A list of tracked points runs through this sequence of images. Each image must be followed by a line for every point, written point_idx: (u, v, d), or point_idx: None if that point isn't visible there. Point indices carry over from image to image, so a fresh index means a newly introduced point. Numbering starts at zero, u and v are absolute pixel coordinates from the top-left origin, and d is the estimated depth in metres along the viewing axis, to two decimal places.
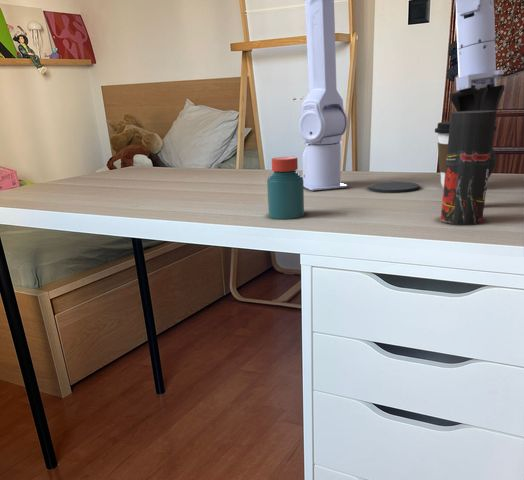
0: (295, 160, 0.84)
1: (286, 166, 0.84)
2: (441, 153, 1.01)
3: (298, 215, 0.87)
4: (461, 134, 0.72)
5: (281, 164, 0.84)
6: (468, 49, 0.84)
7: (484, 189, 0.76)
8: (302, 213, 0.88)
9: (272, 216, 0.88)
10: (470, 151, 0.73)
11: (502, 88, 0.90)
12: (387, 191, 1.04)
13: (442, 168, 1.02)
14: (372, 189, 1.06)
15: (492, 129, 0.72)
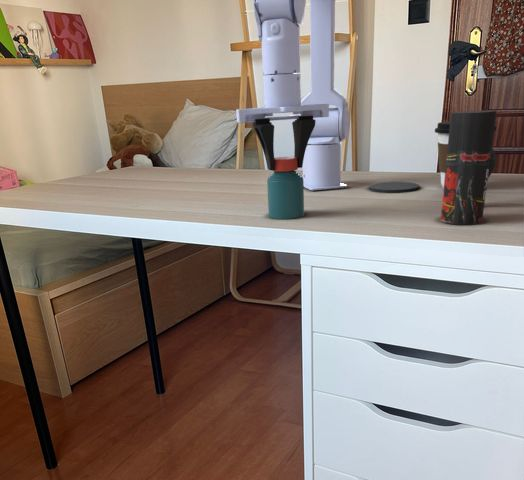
0: (295, 160, 0.84)
1: (286, 166, 0.84)
2: (441, 153, 1.01)
3: (298, 215, 0.87)
4: (461, 134, 0.72)
5: (281, 164, 0.84)
6: (263, 79, 0.80)
7: (484, 189, 0.76)
8: (302, 213, 0.88)
9: (272, 216, 0.88)
10: (470, 151, 0.73)
11: (306, 124, 0.81)
12: (387, 191, 1.04)
13: (442, 168, 1.02)
14: (372, 189, 1.06)
15: (492, 129, 0.72)
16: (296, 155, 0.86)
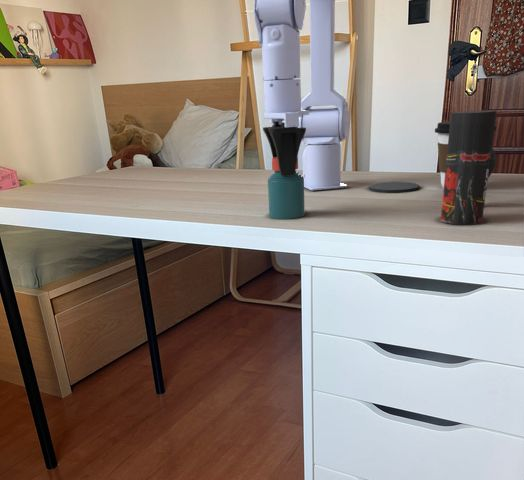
0: None
1: None
2: (441, 153, 1.01)
3: (299, 215, 0.87)
4: (461, 134, 0.72)
5: (297, 162, 0.85)
6: (283, 83, 0.78)
7: (484, 189, 0.76)
8: (303, 213, 0.88)
9: (273, 216, 0.88)
10: (470, 151, 0.73)
11: (296, 127, 0.86)
12: (387, 191, 1.04)
13: (442, 168, 1.02)
14: (372, 189, 1.06)
15: (492, 129, 0.72)
16: None
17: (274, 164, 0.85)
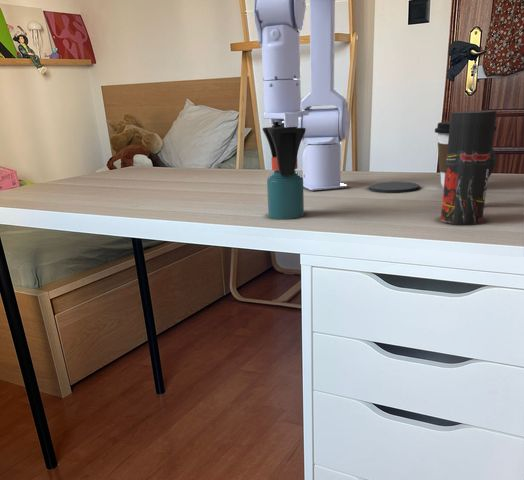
0: None
1: None
2: (441, 153, 1.01)
3: (299, 215, 0.88)
4: (461, 134, 0.72)
5: None
6: (283, 83, 0.78)
7: (484, 189, 0.76)
8: (303, 212, 0.88)
9: (273, 216, 0.88)
10: (470, 151, 0.73)
11: (296, 128, 0.87)
12: (387, 191, 1.04)
13: (442, 168, 1.02)
14: (372, 189, 1.06)
15: (492, 129, 0.72)
16: None
17: None
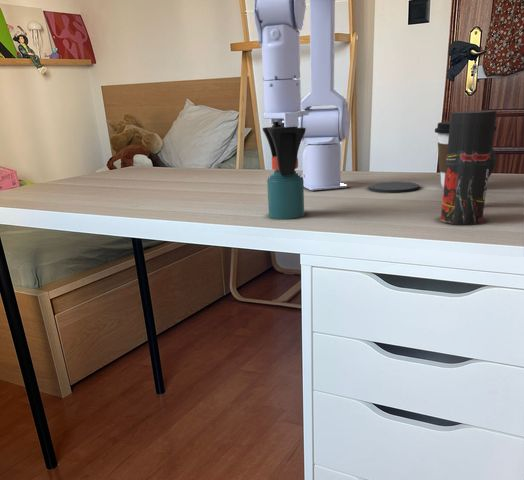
0: (275, 160, 0.84)
1: None
2: (441, 153, 1.01)
3: (301, 214, 0.88)
4: (461, 134, 0.72)
5: None
6: (283, 83, 0.78)
7: (484, 189, 0.76)
8: (303, 212, 0.89)
9: (275, 216, 0.87)
10: (470, 151, 0.73)
11: (296, 128, 0.87)
12: (387, 191, 1.04)
13: (442, 168, 1.02)
14: (372, 189, 1.06)
15: (492, 129, 0.72)
16: None
17: None
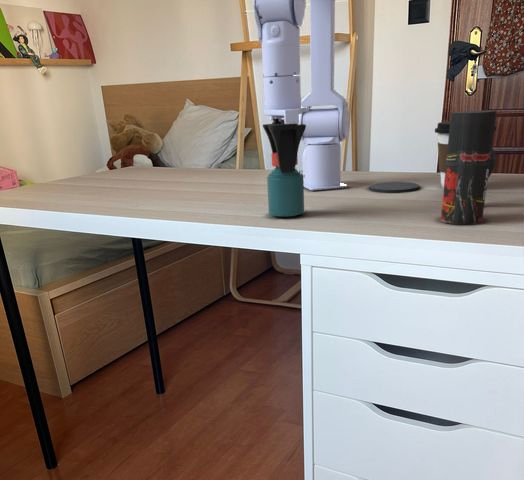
0: None
1: None
2: (441, 153, 1.01)
3: (301, 211, 0.88)
4: (461, 134, 0.72)
5: (277, 159, 0.84)
6: (283, 80, 0.78)
7: (484, 189, 0.76)
8: (303, 209, 0.89)
9: (276, 214, 0.87)
10: (470, 151, 0.73)
11: (296, 124, 0.86)
12: (387, 191, 1.04)
13: (442, 168, 1.02)
14: (372, 189, 1.06)
15: (492, 129, 0.72)
16: None
17: None
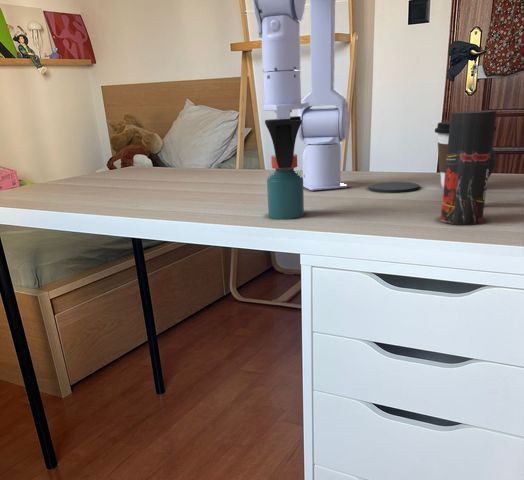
0: None
1: (295, 162, 0.85)
2: (441, 153, 1.01)
3: (301, 214, 0.88)
4: (461, 134, 0.72)
5: (293, 160, 0.84)
6: (279, 75, 0.78)
7: (484, 189, 0.76)
8: (303, 212, 0.89)
9: (276, 217, 0.87)
10: (470, 151, 0.73)
11: (300, 120, 0.86)
12: (387, 191, 1.04)
13: (442, 168, 1.02)
14: (372, 189, 1.06)
15: (492, 129, 0.72)
16: None
17: None
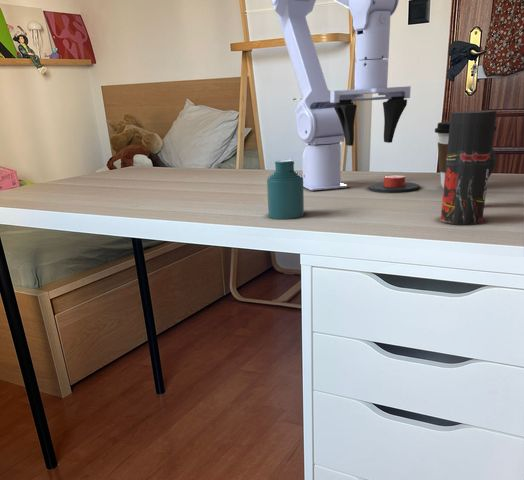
0: (402, 179, 1.05)
1: (394, 183, 1.05)
2: (441, 153, 1.01)
3: (301, 214, 0.88)
4: (461, 134, 0.72)
5: (390, 181, 1.05)
6: (355, 64, 0.92)
7: (484, 189, 0.76)
8: (303, 212, 0.89)
9: (276, 217, 0.87)
10: (470, 151, 0.73)
11: (399, 103, 0.93)
12: (387, 191, 1.04)
13: (442, 168, 1.02)
14: (372, 189, 1.06)
15: (492, 129, 0.72)
16: (386, 131, 0.98)
17: None
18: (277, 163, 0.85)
